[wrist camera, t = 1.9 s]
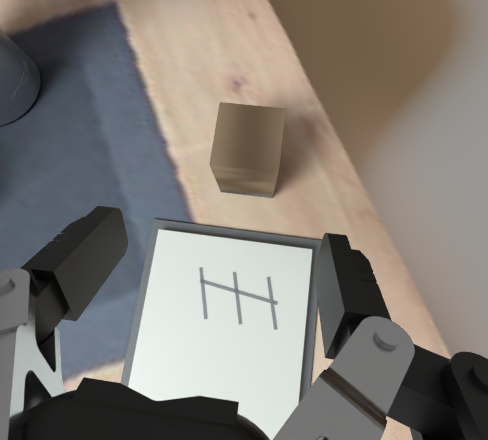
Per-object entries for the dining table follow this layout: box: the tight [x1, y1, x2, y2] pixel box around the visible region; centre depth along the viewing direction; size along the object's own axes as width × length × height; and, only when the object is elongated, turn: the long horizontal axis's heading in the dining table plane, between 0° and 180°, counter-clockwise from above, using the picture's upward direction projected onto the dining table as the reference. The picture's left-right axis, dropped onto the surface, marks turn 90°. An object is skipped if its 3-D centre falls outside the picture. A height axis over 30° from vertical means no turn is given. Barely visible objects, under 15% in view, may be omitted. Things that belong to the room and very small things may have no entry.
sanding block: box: [210, 102, 286, 198], centre depth 24 cm, size 5×5×7 cm
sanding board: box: [121, 219, 322, 440], centre depth 23 cm, size 16×24×1 cm, turn 172°
